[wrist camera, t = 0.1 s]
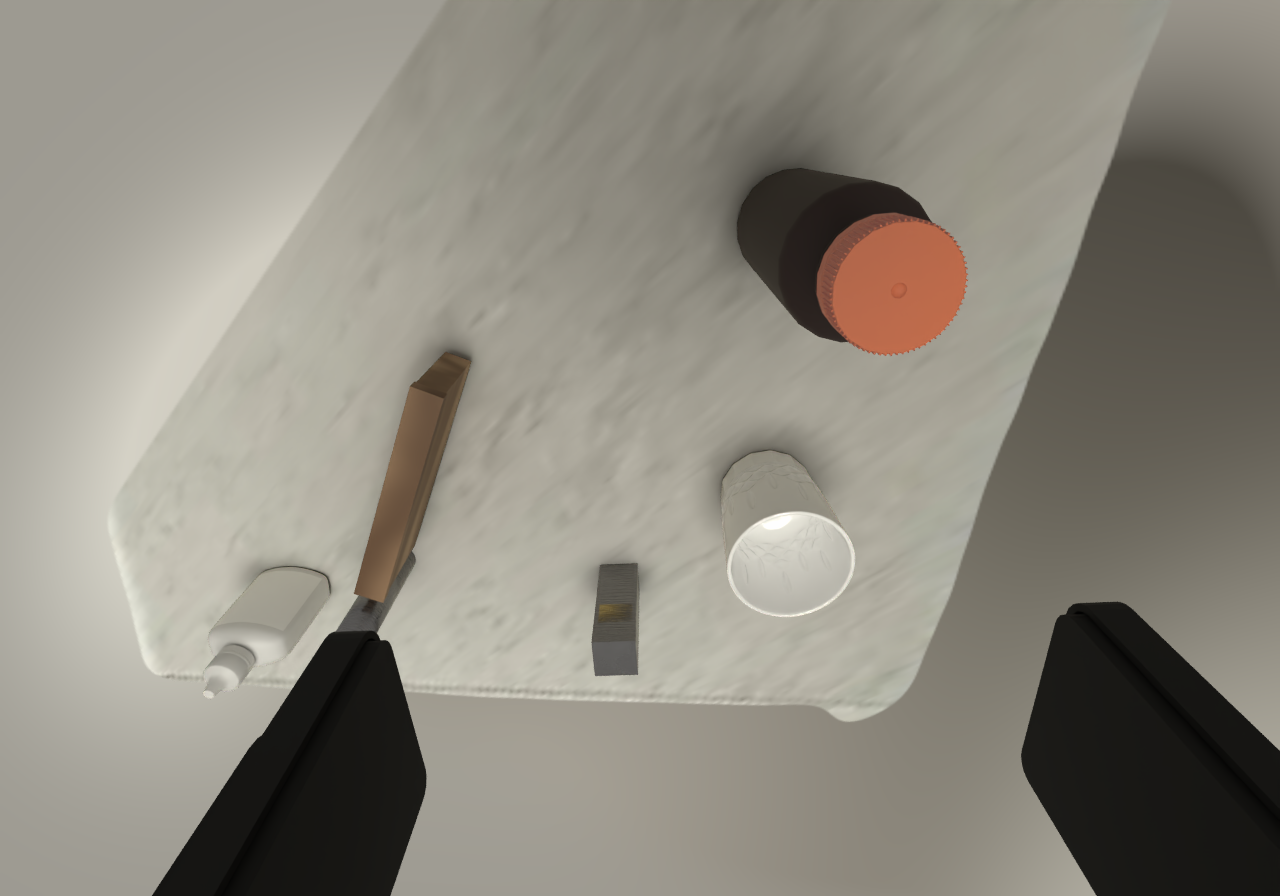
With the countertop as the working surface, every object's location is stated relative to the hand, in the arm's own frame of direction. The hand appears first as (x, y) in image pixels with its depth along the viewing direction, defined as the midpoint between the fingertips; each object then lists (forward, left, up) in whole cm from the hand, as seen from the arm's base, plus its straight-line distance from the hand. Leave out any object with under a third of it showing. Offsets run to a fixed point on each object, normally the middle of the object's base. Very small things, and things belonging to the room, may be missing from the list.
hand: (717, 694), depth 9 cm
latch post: (+25, -4, -37) cm, 45 cm away
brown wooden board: (+12, -17, -36) cm, 42 cm away
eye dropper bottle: (+24, -31, -37) cm, 54 cm away
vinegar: (-2, +8, -37) cm, 38 cm away
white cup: (+17, +7, -37) cm, 41 cm away
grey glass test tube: (+22, -22, -37) cm, 48 cm away
